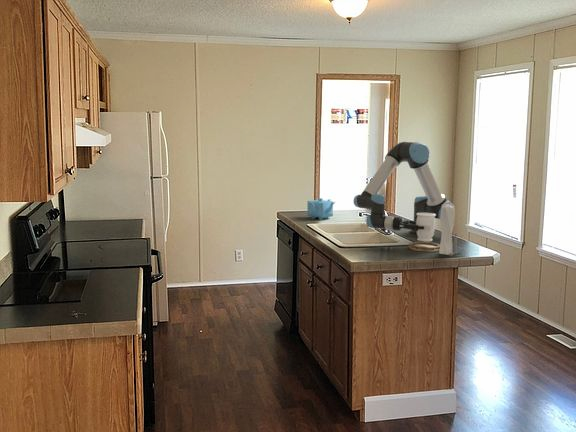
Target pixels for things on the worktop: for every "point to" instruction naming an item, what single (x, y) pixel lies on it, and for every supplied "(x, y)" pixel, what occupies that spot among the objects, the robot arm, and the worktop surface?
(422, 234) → the jar
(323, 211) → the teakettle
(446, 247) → the skyscraper
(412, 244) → the coaster
